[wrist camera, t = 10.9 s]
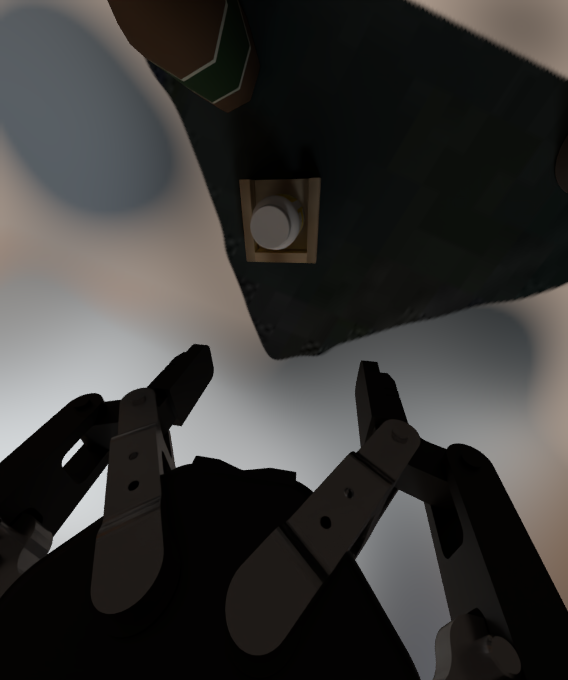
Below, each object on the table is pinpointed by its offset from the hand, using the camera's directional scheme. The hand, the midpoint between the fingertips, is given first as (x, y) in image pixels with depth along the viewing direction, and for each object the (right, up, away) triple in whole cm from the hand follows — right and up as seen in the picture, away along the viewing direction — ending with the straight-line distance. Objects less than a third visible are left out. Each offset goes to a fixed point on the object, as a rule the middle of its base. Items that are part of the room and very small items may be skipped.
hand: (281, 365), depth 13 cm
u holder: (0, +18, +21) cm, 27 cm away
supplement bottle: (0, +18, +20) cm, 26 cm away
